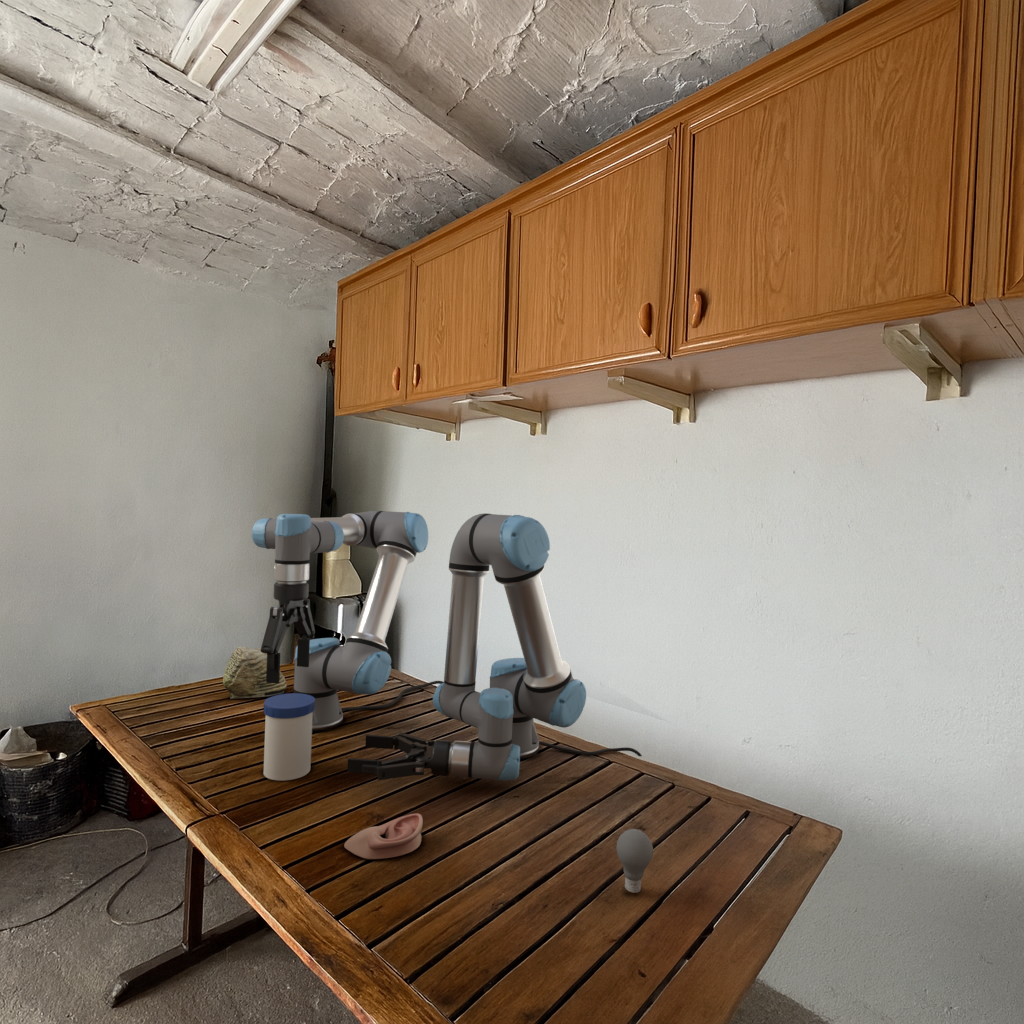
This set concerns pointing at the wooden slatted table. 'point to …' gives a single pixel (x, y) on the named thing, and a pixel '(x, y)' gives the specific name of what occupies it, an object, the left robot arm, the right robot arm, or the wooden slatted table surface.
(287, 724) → the jar
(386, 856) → the anatomical model
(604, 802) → the wooden slatted table surface
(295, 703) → the lid
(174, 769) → the wooden slatted table surface
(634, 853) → the light bulb
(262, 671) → the fossil
